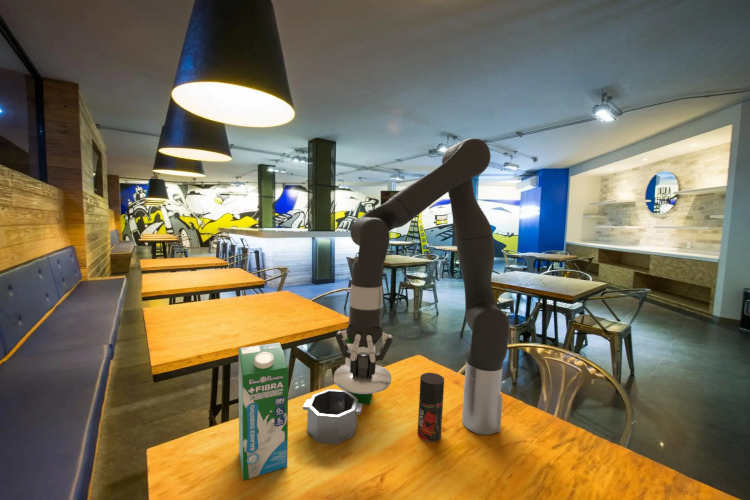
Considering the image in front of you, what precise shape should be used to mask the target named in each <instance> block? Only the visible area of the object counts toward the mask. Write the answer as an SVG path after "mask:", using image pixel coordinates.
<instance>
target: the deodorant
mask: <svg viewBox="0 0 750 500" xmlns="http://www.w3.org/2000/svg"><path fill="white" fill-rule="evenodd" d="M419 380H420V381H419V400H418V401H419V402H418V416H417V435H418V437H419V439H421V440H422V441H425V442H428V443H436V442H438V441H440V439H441V436H442V425H443V424H442V423H443V406H444V405H443V404H444V390H445V389H444V388H445V378H444V377H443V376H442V375H440V374H438V373H435V372H425V373H422V374H420V379H419Z"/></svg>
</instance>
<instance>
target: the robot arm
mask: <svg viewBox="0 0 750 500" xmlns="http://www.w3.org/2000/svg"><path fill="white" fill-rule="evenodd" d="M491 157H492V155H491V150H490V148H489V146H488V144H487V143H486V142H485V141H483V140H482V139H480V138H475V137H474V138H473V137H471V138H467V139H464V140H462V141H460V142H458V143H456V144H453V145H451V146H450V147H448V148H447V149H446V150H445V151H444V153H443V155H442V159H441V164H440V165H439V166H438V167H436V168H434V170H432V171H430V172H429V173H427V174H424V175H423V176H422V177H420V178H419V179H417V180H415V181H413V182H412V183H410V184H408V185H407V186H405V187H404V188H403V189H401V190H400V191H398V192H397V193H396V194H395V195H393V196H392V197H390V198H389V199H388V200H387V201H386V202H384V203H383V204H381V205H379V206H377V207H375V208H374V209H371V210H370V211H368V212H366V213H365V214H362V216H360V217H359V218H358V219H356V220H355V221H354V222H353V224H352V226H351V228H350V237H351V240H352V241H353V243H354V244H356V246H359V247H358V255H357V258H356V260H355V261H353V264H352V273H351V287H350V295H349V301H348V303H349V308H348V309H349V313H348V314H349V315H348V326H347V328H346V329H344V330H338V331H337V332H336V334H335V339H336V342H337V344H338V347H339V350H340V353H341V355H342V357H343V358H344V359H346V358H349V359H350V372H351V373H353V376H356V364H357V357H356V356H357V351H358V347H366V348H368V350H369V355H370V362H369V377H372V375H374V374H375V367H376V365H377V362H378V361H383V360H384V359H385V357H386V354H387V353H388V350H389V349H390V347H391V344H392V343H393V334H391V333H389V334H387V333H385V332H384V331H383V328H382V315H383V311H382V310H383V295H384V294H383V275H384V265H385V261H386V258H387V255H388V250H389V246H390V237H391V235H390V231H392V230H394V229H398V228H401V227H403V226H405V225H408V223H410V222H411V221H412V220H414V219H415V218H416V217H418V215H420V214H422V212H424V211H425V210H426V209H428V207H429V208H430V206H431V205H433V204H434V203H435V202H436V201H438V200H440V198H441V197H443V196H444V195H446V194H448V197H449V203H450V207H451V215H452V220H453V227H454V235H455V244H456V251H457V255H458V261H459V266H460V272H461V277H462V281H463V285H464V301H465V307H464V308H465V320H466V321H465V322H466V323H467V326H468V328H469V329H470V330H471V339H470V341H471V343H470V348H468V349H467V350H466V356H465V372H464V373H465V374H464V386H463V387H464V389H463V399H462V400H463V401H462V403H463V404H462V413H461V417H462V418H461V423H462V425H463V426H464V427H465V428H466V429H467V430H469V431H470V432H473V433H475V434H478V435H484V436H489V435H493V434H495V433H501V424H502V413H503V411H502V410H503V401H504V400H503V396H502V394H501V391H502V390H501V389H502V380H503V379H502V376H503V365H504V361H505V359H506V357H507V353H508V344H509V337H510V323H509V319H508V316H507V315H506V313H505V311H503V310H502V309H500V308H499V307H497V305H496V301H495V297H494V291H493V285H492V275H493V269H494V263H495V256H496V255H495V254H496V253H495V245H494V244H495V241H494V235H493V230H492V229H493V228H492V226H491V223H490V221H489V220H488V218H487V215H486V214H485V213H484V211H483V210H482V208H481V206H480V205H479V203H478V201H477V199H476V196H475V195H476V194H475V192H474V186H473V184H474V183H473V178H474V177H478V176H480V175H481V174H482V173H484V172H485V171H486V170H487V168H488V167H489V165H490V162H491ZM348 336H349V338H350V339H351V341H352V342H353V348H352V351H349V349H348V346H347V337H348ZM381 338H382V341H381V342H382V346H381V348H380V350H379V352H377V351H376V344H377V343H378V341H379V340H380V339H381Z"/></svg>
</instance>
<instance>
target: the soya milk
mask: <svg viewBox="0 0 750 500" xmlns="http://www.w3.org/2000/svg"><path fill="white" fill-rule="evenodd" d="M346 343H347V346H348V349H349V351H352V348H353V342H352V341H351V339H350V338H349V336H348V335H347V337H346ZM360 352H367V353H369V350H368V348H366V347H358V351H357V354H358V353H360ZM356 357H357V356H356ZM344 363H345V364H344V365H346V364H350V359H349V358H345V362H344ZM349 393H351V392H349ZM351 394H352V395H353V396H355V397H356V398H357V399H358V401H357V403H362V405H371V403H372V399H373V394H374V393H372V394H357V393H351Z"/></svg>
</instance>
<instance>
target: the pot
mask: <svg viewBox="0 0 750 500" xmlns="http://www.w3.org/2000/svg"><path fill="white" fill-rule="evenodd" d="M357 401H358V399H357V398H356V397H355V396H353V395H352V394H351V393H349V392H348V391H345V390H343V389H331V388H329V389H328V388H327V389H326V390H322V391H320V392H317V393H315V394H312V396H311V398H307V399H306V400H305V402H304V404H303V406H302V410H305V411H307V414H306V415H307V417H306V419H307V421H306V422H307V423H306V432H307V433H308V435H310V437H311V438H312V439H314V441H315V442H316V443H320V444H329V445H339V444H341V443H343V442H345V441H347V440H349V439H351V438H353V437H354V436H355V433H356V428H357V425H358V415H359V416H360V415H361V413H362V409H363V404H362V403H357Z"/></svg>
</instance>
